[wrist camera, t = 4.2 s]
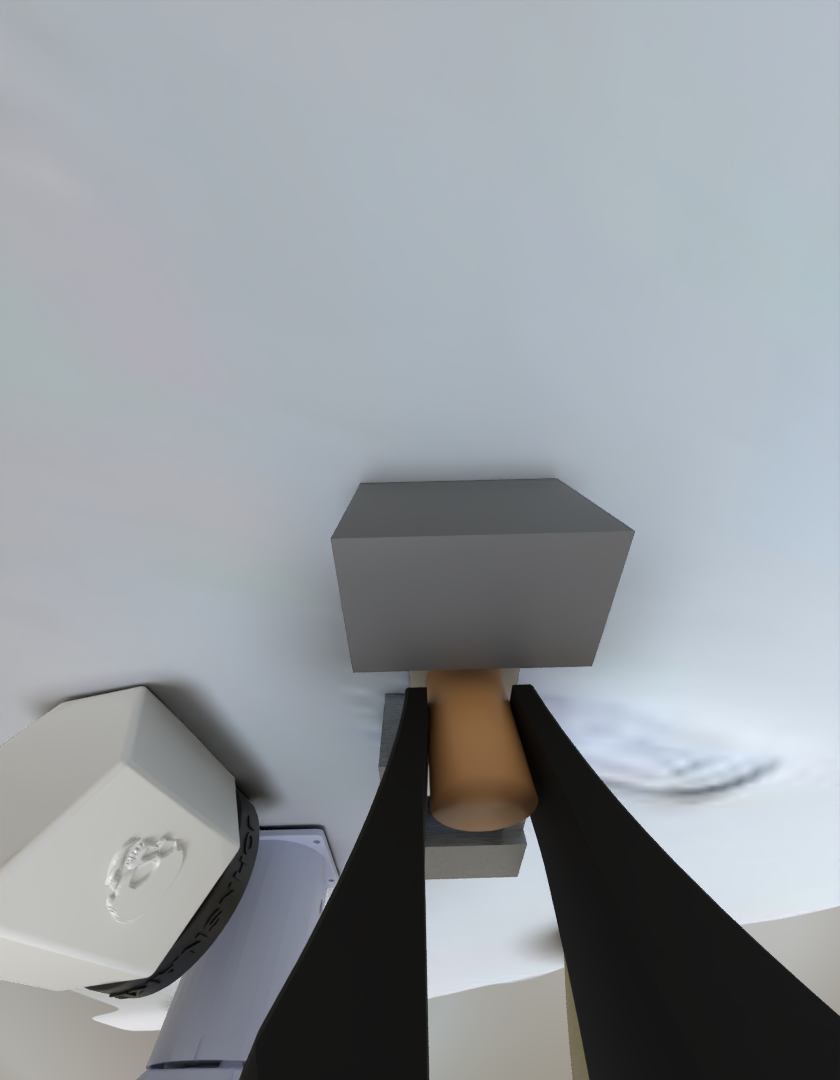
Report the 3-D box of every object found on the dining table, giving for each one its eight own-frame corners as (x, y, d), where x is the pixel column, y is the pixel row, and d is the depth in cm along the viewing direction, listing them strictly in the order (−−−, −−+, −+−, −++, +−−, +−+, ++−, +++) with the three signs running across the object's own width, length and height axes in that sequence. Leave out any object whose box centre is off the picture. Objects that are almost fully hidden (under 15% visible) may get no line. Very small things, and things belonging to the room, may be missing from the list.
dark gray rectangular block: (539, 581, 13) (591, 665, 9) (371, 585, 13) (353, 672, 9) (557, 478, 11) (635, 531, 7) (360, 483, 11) (330, 538, 7)
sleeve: (498, 798, 22) (515, 883, 18) (396, 801, 22) (393, 887, 18) (517, 691, 17) (546, 778, 13) (385, 694, 17) (376, 783, 13)
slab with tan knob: (485, 732, 18) (521, 912, 12) (415, 734, 18) (415, 915, 12) (510, 523, 12) (608, 668, 6) (405, 526, 12) (396, 674, 6)
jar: (183, 709, 14) (293, 821, 20) (110, 664, 18) (220, 768, 24) (-193, 1059, 7) (137, 1073, 13) (-177, 866, 11) (72, 942, 17)
